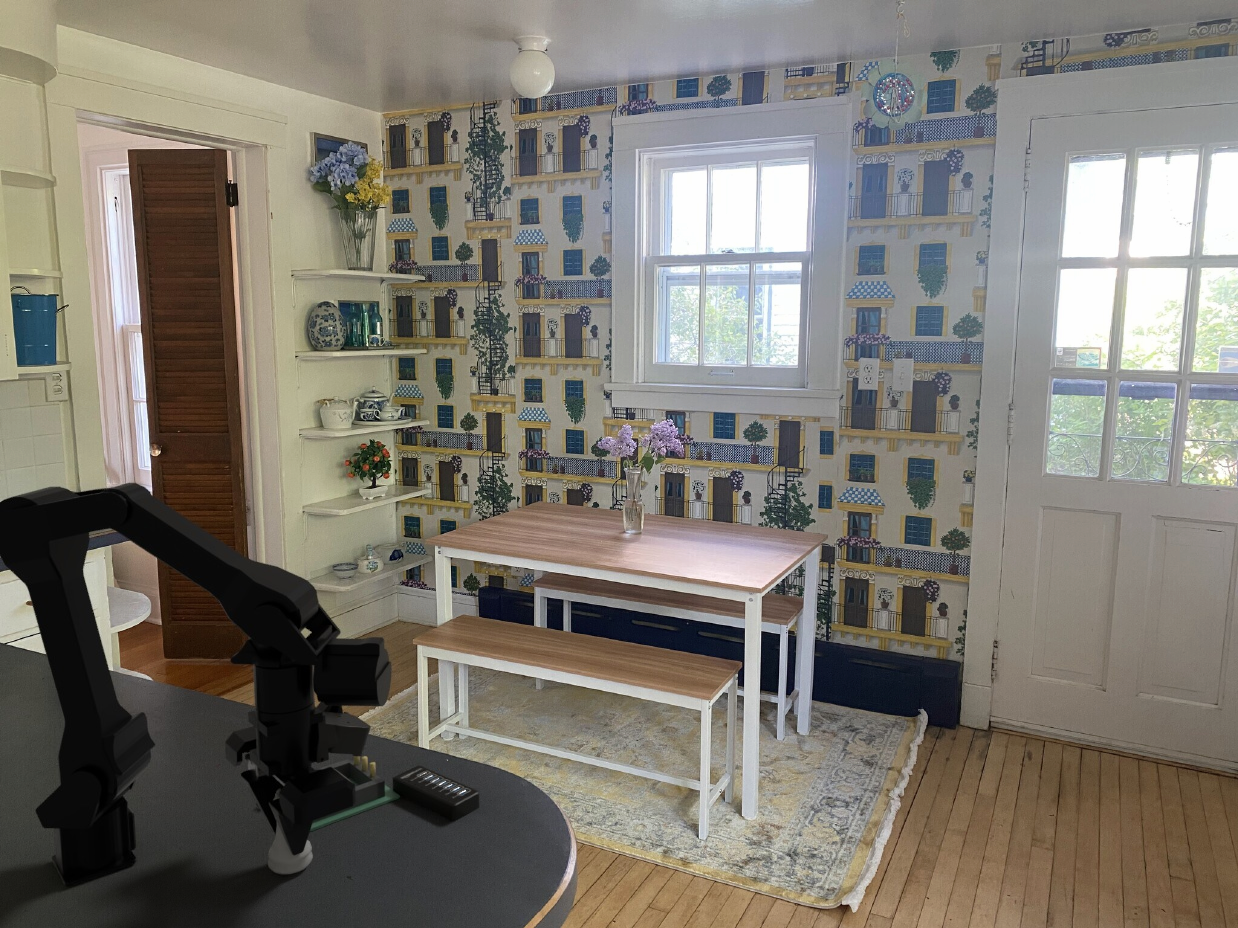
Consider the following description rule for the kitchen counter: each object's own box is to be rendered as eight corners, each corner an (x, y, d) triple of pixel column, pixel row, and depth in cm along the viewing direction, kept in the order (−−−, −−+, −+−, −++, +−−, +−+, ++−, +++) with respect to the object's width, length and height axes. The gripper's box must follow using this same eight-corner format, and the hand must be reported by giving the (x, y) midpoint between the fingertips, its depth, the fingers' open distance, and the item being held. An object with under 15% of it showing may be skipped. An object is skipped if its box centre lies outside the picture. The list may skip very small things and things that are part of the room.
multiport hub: (453, 824, 103) (453, 806, 103) (391, 794, 110) (390, 776, 110) (481, 809, 107) (481, 790, 107) (419, 780, 113) (418, 763, 113)
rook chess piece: (258, 868, 93) (255, 795, 92) (292, 847, 97) (289, 777, 96) (289, 880, 91) (286, 807, 90) (322, 858, 95) (320, 787, 94)
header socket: (294, 837, 100) (292, 804, 99) (258, 802, 107) (257, 771, 106) (399, 797, 108) (399, 767, 108) (360, 768, 116) (359, 739, 115)
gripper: (402, 710, 90) (404, 854, 93) (320, 659, 104) (323, 786, 106) (294, 742, 83) (299, 899, 85) (220, 683, 96) (226, 819, 99)
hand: (289, 845), depth 94 cm, fingers closed on rook chess piece, 3 cm apart
